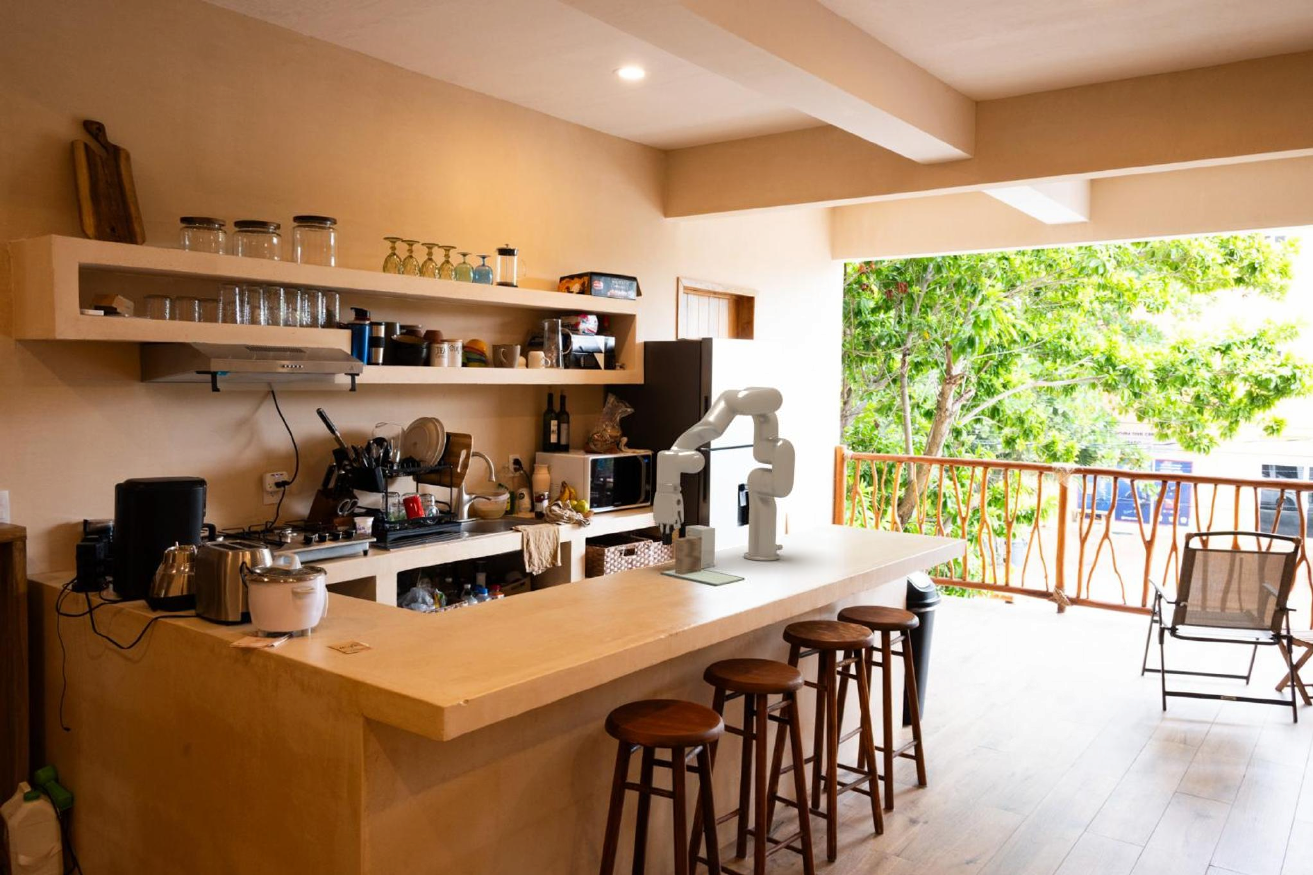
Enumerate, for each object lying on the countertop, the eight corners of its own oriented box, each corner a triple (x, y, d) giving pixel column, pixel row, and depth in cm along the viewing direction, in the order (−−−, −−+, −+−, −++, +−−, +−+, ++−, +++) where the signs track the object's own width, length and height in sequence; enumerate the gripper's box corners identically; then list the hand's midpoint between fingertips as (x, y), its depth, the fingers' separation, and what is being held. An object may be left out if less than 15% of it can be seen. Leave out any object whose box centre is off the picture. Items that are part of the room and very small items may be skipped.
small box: (714, 566, 321) (715, 527, 320) (700, 568, 317) (701, 529, 316) (698, 562, 327) (699, 524, 326) (684, 564, 323) (685, 526, 322)
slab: (693, 569, 312) (694, 535, 312) (700, 570, 310) (701, 537, 310) (675, 573, 306) (675, 538, 305) (681, 574, 304) (682, 540, 303)
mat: (689, 568, 317) (689, 566, 317) (744, 579, 301) (744, 577, 301) (660, 574, 307) (660, 572, 307) (715, 586, 291) (715, 584, 291)
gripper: (693, 490, 310) (691, 546, 312) (659, 485, 321) (658, 540, 322) (677, 491, 305) (675, 549, 306) (643, 487, 315) (642, 542, 317)
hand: (667, 544), depth 314 cm, fingers closed
